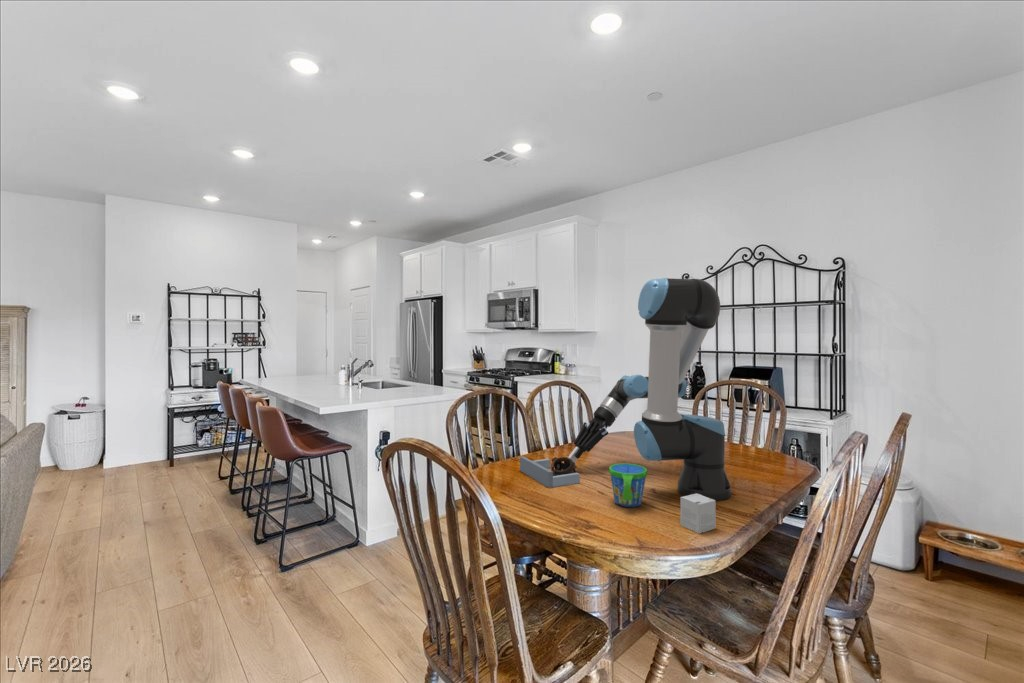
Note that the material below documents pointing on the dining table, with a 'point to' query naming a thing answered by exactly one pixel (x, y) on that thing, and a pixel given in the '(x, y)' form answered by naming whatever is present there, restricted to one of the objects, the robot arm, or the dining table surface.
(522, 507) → the dining table surface
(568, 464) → the pottery mug
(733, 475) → the dining table surface
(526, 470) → the seat channel
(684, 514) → the skincare box
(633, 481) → the snack cup
